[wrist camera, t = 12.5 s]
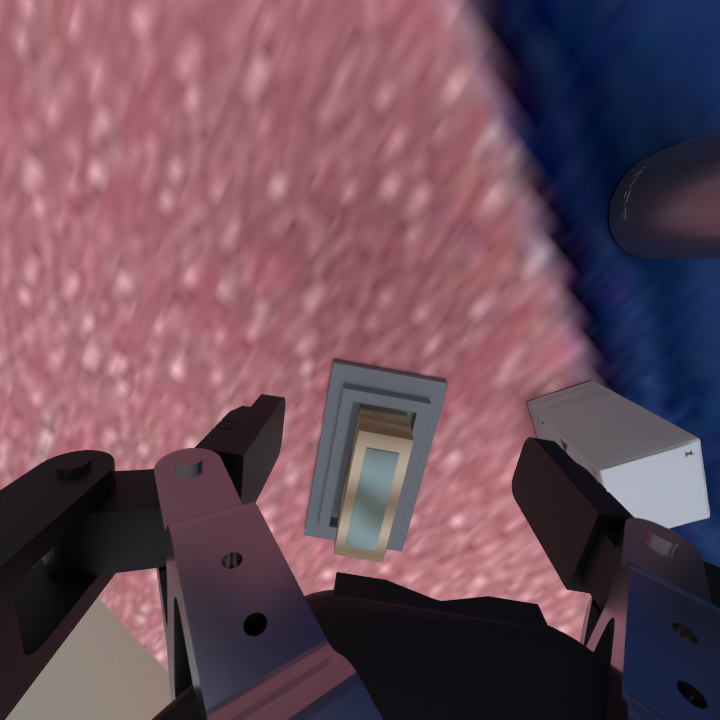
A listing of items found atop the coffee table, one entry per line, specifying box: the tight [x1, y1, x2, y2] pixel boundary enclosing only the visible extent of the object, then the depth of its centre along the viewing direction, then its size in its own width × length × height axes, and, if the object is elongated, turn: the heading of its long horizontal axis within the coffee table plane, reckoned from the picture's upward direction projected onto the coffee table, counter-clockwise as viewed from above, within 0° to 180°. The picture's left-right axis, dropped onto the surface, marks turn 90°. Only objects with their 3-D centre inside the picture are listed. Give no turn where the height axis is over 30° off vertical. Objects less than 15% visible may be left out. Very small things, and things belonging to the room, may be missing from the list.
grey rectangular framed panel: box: [304, 359, 448, 552], centre depth 38 cm, size 22×12×3 cm, turn 170°
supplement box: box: [527, 381, 710, 529], centre depth 32 cm, size 7×7×13 cm
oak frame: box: [334, 404, 414, 562], centre depth 36 cm, size 14×5×6 cm, turn 169°
